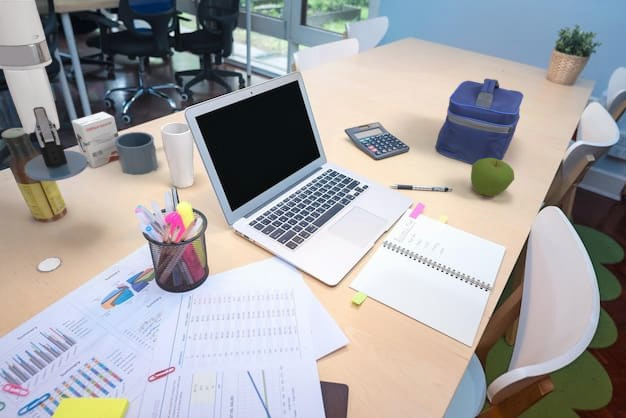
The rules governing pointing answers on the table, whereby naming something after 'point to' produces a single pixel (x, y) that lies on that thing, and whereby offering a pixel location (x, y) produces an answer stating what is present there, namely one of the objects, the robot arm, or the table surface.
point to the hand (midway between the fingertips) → (55, 159)
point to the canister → (136, 153)
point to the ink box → (97, 138)
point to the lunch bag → (479, 121)
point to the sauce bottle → (36, 193)
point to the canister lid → (56, 167)
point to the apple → (491, 176)
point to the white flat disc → (49, 264)
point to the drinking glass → (179, 153)
